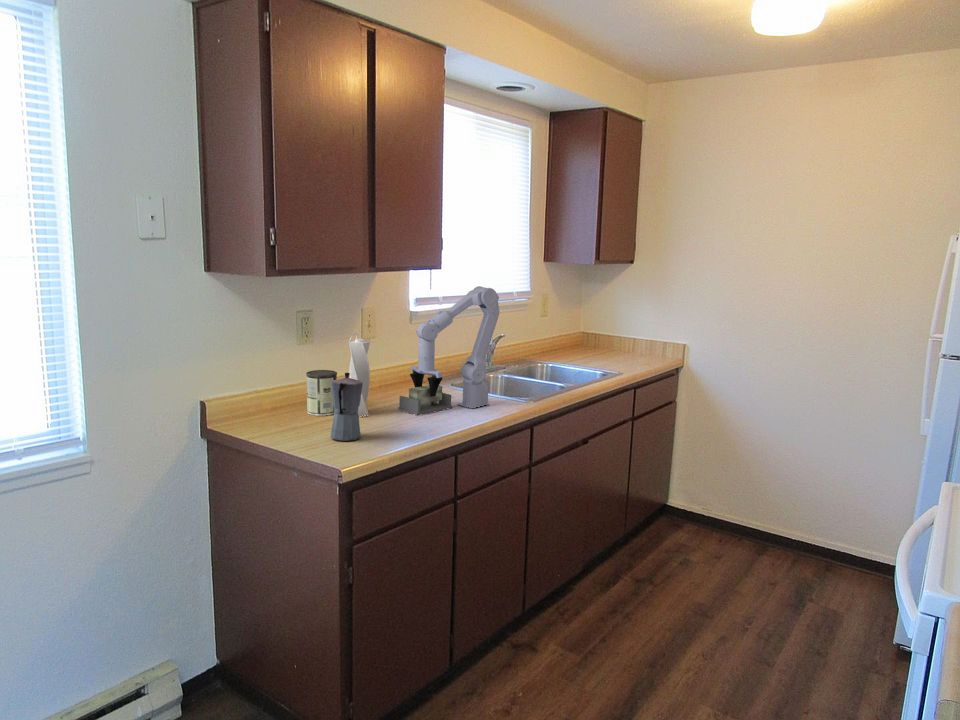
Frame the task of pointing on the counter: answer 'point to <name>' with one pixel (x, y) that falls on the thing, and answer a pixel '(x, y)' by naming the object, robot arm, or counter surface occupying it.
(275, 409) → the counter surface
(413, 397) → the olive green rectangular block
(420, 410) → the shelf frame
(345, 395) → the moka pot
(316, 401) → the coffee can
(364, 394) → the skyscraper
